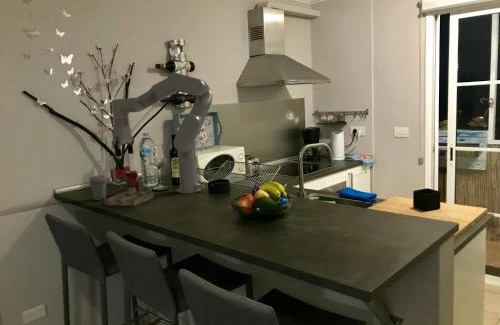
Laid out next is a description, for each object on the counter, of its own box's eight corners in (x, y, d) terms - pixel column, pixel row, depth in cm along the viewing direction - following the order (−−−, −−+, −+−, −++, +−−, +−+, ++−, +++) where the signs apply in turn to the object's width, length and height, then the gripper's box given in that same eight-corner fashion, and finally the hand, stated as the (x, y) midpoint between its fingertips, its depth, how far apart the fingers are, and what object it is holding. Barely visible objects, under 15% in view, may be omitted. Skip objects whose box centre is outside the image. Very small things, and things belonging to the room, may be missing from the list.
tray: (154, 197, 214) (153, 192, 213) (134, 206, 198) (133, 200, 197) (126, 196, 219) (125, 191, 219) (104, 204, 203) (104, 199, 203)
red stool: (136, 194, 223) (134, 172, 221) (124, 194, 224) (122, 172, 223) (142, 191, 230) (139, 170, 228) (130, 191, 231) (128, 170, 229)
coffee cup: (105, 200, 212) (102, 177, 210) (88, 201, 212) (86, 178, 211) (111, 197, 221) (108, 174, 219) (95, 197, 221) (92, 175, 219)
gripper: (126, 121, 228) (129, 152, 230) (104, 124, 212) (108, 157, 215) (137, 121, 225) (140, 152, 228) (116, 123, 209) (119, 157, 212)
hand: (124, 154), depth 221 cm, fingers open, 9 cm apart
